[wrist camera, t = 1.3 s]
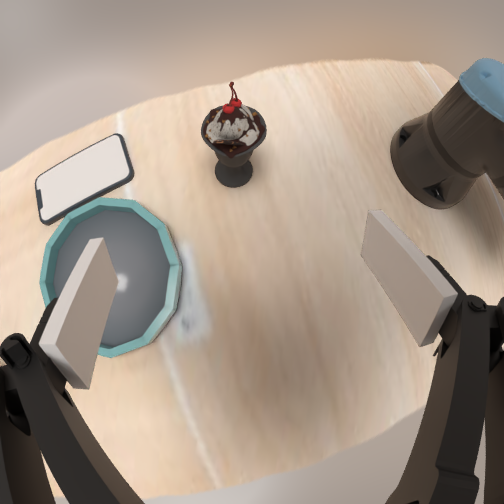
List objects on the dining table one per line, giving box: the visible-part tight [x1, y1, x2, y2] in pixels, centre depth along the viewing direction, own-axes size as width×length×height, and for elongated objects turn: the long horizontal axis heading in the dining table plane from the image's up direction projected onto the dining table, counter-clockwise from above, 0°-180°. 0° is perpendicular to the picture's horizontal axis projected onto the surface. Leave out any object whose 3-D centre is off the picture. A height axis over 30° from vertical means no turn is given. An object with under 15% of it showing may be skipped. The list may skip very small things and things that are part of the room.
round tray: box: [39, 197, 182, 358], centre depth 34 cm, size 19×19×3 cm
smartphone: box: [35, 134, 134, 225], centre depth 37 cm, size 9×2×16 cm
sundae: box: [201, 82, 267, 187], centre depth 31 cm, size 7×7×15 cm
